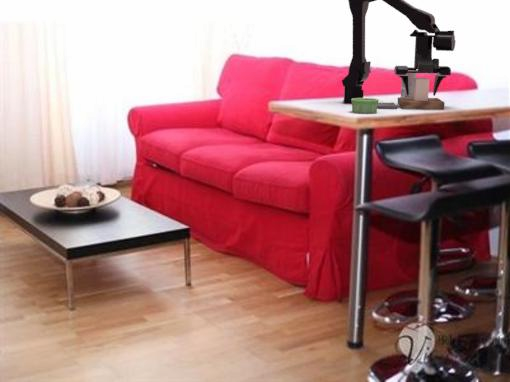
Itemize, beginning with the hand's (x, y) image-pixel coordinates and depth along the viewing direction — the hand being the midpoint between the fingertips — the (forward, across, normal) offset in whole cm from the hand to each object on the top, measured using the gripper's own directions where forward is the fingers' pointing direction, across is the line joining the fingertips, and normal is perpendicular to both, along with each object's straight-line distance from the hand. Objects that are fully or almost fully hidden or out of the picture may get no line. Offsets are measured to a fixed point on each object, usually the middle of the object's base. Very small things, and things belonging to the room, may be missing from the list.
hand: (420, 95), depth 268 cm
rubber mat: (+4, -14, -2) cm, 15 cm away
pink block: (+4, 0, 0) cm, 4 cm away
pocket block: (+4, 0, 0) cm, 4 cm away
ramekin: (+4, -21, -17) cm, 27 cm away
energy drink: (+4, -1, +24) cm, 24 cm away
